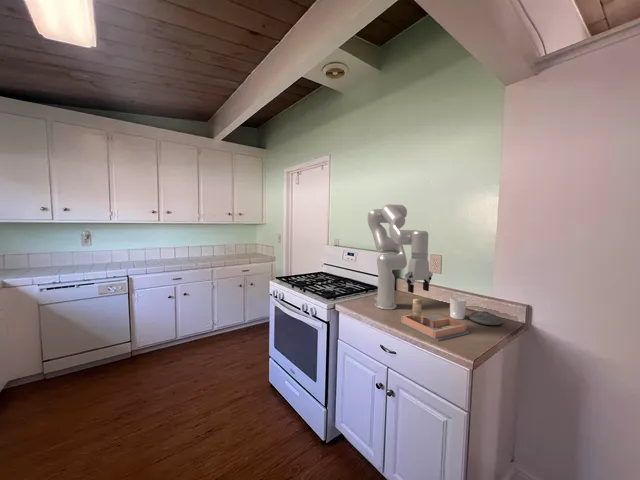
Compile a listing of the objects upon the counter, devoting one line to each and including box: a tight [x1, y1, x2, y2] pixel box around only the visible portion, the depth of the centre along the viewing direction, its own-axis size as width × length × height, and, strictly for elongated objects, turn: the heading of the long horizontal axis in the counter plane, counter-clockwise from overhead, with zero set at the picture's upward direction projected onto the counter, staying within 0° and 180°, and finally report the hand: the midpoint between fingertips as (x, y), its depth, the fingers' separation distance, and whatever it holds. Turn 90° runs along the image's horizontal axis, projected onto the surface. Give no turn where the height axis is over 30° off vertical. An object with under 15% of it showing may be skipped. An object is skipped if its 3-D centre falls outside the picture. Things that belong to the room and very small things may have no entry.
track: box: [400, 314, 470, 342], centre depth 134 cm, size 23×20×4 cm
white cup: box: [449, 296, 467, 320], centre depth 149 cm, size 8×8×10 cm
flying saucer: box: [468, 310, 503, 326], centre depth 144 cm, size 15×15×6 cm
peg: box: [411, 298, 423, 324], centre depth 137 cm, size 4×4×12 cm
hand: (418, 291), depth 136 cm, fingers open, 9 cm apart
